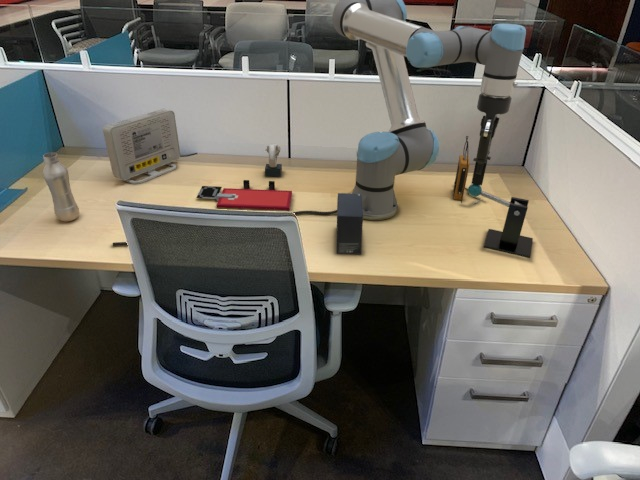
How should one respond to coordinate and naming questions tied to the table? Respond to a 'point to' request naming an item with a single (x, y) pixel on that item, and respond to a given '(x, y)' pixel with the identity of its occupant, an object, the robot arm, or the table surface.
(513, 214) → the lever base
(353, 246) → the small box
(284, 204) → the red board with handle
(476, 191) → the ball knob joystick
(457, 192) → the multimeter
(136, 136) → the network device
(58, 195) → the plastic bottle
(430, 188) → the table surface
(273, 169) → the white figurine
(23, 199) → the table surface
